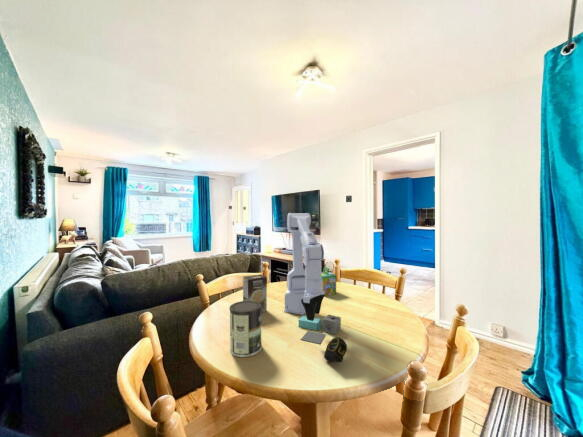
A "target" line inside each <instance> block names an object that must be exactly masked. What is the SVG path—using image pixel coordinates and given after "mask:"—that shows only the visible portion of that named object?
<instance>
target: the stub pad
mask: <svg viewBox="0 0 583 437" xmlns="http://www.w3.org/2000/svg"><path fill="white" fill-rule="evenodd" d="M326 336H327V334H326V333H322V332H321V333H320V332H318V331H317V332H316V331H313V330H307V331H306V332H305V334H304V335H303V336H302V337H301V338H300V340H301V341H304V342H308V343H312V344H317V345H321V343H322V342H323V340H324V339H325V338H326Z"/></svg>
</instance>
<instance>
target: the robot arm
mask: <svg viewBox="0 0 583 437" xmlns="http://www.w3.org/2000/svg"><path fill="white" fill-rule="evenodd" d="M311 223H312V217H311V214H310V213H309V212H305V213H303V212H301V213H300V212H298V213H297V212H296V213H295V212H294V213H293V212H288V214H287V215H286V228H287V232H288V233H290V234H291V244H292V247H291V248H292V269H291V270H289V271H288V273H287V277H286V288H287V290H286V291H285V293H284V310H283V312H285V313H290V314H295V315H296V314H297V315H302V316H307V320H310V321H313V320H314V318H316V317H315V315H320V312H321V307H322V303H323V300H324V298H325V297H326V296H325V291H322V286H321V272H322V261H323V260H324V259H325V251H324V247H323V244H321V243H320V242H318V240H317V238H316V236H315V233H314V232H313V231H311V230H310V229H311V228H310V226H311ZM304 266H305V267H304Z"/></svg>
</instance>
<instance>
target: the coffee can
mask: <svg viewBox="0 0 583 437" xmlns="http://www.w3.org/2000/svg"><path fill="white" fill-rule="evenodd" d="M228 308H229V324H230V325H229V329H230V330H229V331H230V332H229V336H230V338H229V339H230V342H229V344H230V345H229V346H230V347H229V348H230V349H229V351H230V353H231V355H232V356H234V357H237V358H249V357H252V356H255V355H257V354H258V353H260V352H261V351H262V345H263V344H262V312H261V303H259V302H256V301H243V300H241V301H236V302H234V303H232V304H230V305H229V307H228Z"/></svg>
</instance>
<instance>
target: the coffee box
mask: <svg viewBox="0 0 583 437" xmlns="http://www.w3.org/2000/svg"><path fill="white" fill-rule="evenodd" d="M242 279H243V282H242V286H243V287H242V297H243V298H242V301H256V302H259V303H261V313H264V312H267V308H268V307H267V305H268V304H267V303H268V300H267V298H268V297H267V296H268V295H267V294H268V293H267V290H268V287H267V285H268V283H267V282H268V280H267V279H268V277H267V276H266V275H263V274H254V275H253V274H252V275H245V276H242Z"/></svg>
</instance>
